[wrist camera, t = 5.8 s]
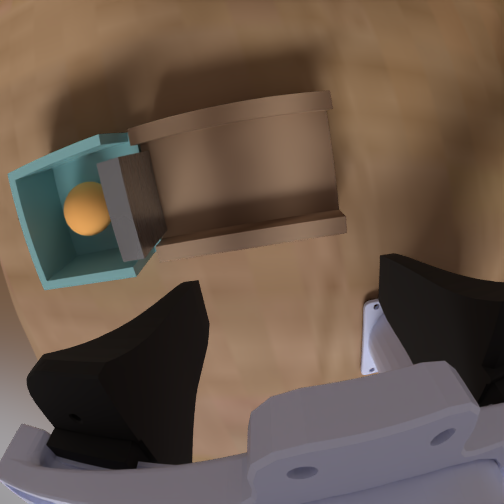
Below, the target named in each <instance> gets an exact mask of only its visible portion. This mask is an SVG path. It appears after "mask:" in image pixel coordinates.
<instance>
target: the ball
mask: <svg viewBox="0 0 504 504" xmlns="http://www.w3.org/2000/svg"><path fill="white" fill-rule="evenodd" d="M64 216H65V220H66V222H67V224H68V225H69V227H70V228H71V229H72V230H73V231H75V232H76V233H78V234H80V235H85V236H92V235H96V234H98V233H100V232H102V231H103V230H104V229H106V228H107V226H108V225H109V224H110V222H111V220H110V216H109V212H108V209H107V205H106V201H105V197H104V194H103V190H102V186H101V184H99V183H96V182H84V183H81V184H78V185H77V186H75V187H74V188H73V189H72V190H71V191H70V192H69V194H68V195H67V197H66V200H65V203H64Z"/></svg>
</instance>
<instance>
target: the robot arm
mask: <svg viewBox="0 0 504 504" xmlns="http://www.w3.org/2000/svg"><path fill="white" fill-rule="evenodd" d="M376 304H378V305H377V306H376V307H374V305H376ZM209 324H210V323H209V320H208V316H207V312H206V308H205V304H204V300H203V296H202V292H201V288H200V284H199V280H197V281H188V282H183V283H181V284H180V285H178V286H177V287H175V288H174V289H173V290H172V291H170V292H169V293H168V294H167V295H165V296H164V297H163V298H162V299H160V300H159V301H158V302H157V303H155V304H154V305H153V306H151V307H150V308H148V309H147V310H146V311H144V312H143V313H142V314H140V315H139V316H137V317H136V318H134V319H133V320H131V321H130V322H128V323H126V324H124V325H123V326H121V327H119V328H117V329H115V330H113V331H111V332H109V333H107V334H105V335H103V336H101V337H99V338H96V339H94V340H91V341H89V342H86V343H83V344H80V345H77V346H74V347H71V348H68V349H64V350H60V351H56V352H52V353H47V354H44V355H43V356H42V357H41V358H40V359H39V361H38V362H37V363H36V365H35V366H34V367H33V369H32V370H31V371H30V373H29V374H28V376H27V387H28V390H29V392H30V395H31V397H32V398H33V400H34V401H35V403H36V404H37V405H38V407H39V408H40V409H41V411H42V412H43V414H44V415H45V416H46V417H47V419H48V420H49V421H50V422H51V424H52V425H53V426H54V427H55V429H54V430H53V432H52V434H49V433H48V432H46V431H45V430H42V429H39V428H36V427H32V426H29V425H26V424H21V425H20V427H19V429H18V431H17V432H16V434H15V436H14V437H13V439H12V441H11V443H10V444H9V446H8V448H7V450H6V452H5V454H4V455H3V457H2V459H1V461H0V482H1V483H3V484H4V485H5V486H6V487H7V488H9V489H10V490H11V491H12V492H14V493H15V494H16V495H18V496H19V497H20V498H21V499H23V500H24V501H25V502H26V503H28V504H504V282H494V281H487V280H480V279H475V278H470V277H466V276H462V275H458V274H454V273H451V272H448V271H445V270H442V269H439V268H436V267H433V266H430V265H428V264H425V263H422V262H420V261H417V260H414V259H411V258H409V257H406V256H403V255H399V254H394V253H393V254H387V255H380V276H379V297H378V299H374V300H369V301H367V302H366V303H365V304H364V307H363V338H362V357H361V373H362V374H363V375H367V374H371V373H375V372H378V373H379V374H374V375H370V376H365V377H361V378H356V379H351V380H346V381H340V382H335V383H329V384H323V385H317V386H311V387H304V388H298V389H295V390H292V391H289V392H285V393H282V394H279V395H275V396H272V397H270V398H269V399H267V400H266V401H265V402H264V403H262V404H261V405H260V406H259V407H257V408H256V409H255V410H254V411H252V412H251V415H250V420H249V425H248V445H247V453H242V454H238V455H233V456H228V457H223V458H218V459H213V460H207V461H201V462H195V463H192V448H193V426H194V412H195V402H196V394H197V388H198V384H199V379H200V375H201V371H202V367H203V363H204V359H205V354H206V350H207V346H208V337H209ZM371 368H372V369H371Z"/></svg>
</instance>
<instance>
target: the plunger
mask: <svg viewBox="0 0 504 504" xmlns="http://www.w3.org/2000/svg"><path fill="white" fill-rule="evenodd" d="M97 169H98V173H99V177H100V181H101V186H102V190H103V194H104V197H105V201H106V205H107V209H108V212H109V216H110V220H111V223H112V227H113V230H114V233H115V237H116V240H117V243H118V246H119V250H120V253H121V256H122V259H123V262H127V261H133V260H139V259H145V257H146V256H147V255H148V254H149V252H150V251H151V250H152V249H153V247H154V246H155V245H156V244H157V243H158V241H159V240H160V239H161V238H162V236H163V235H164V234H165V233H166V232H167V226H166V222H165V218H164V214H163V210H162V206H161V202H160V198H159V194H158V189H157V185H156V181H155V176H154V172H153V167H152V163H151V158H150V153H149V151H144V152H139V153H134V154H130V155H125V156H121V157H117V158H113V159H110V160H107V161H104V162H101V163H98V164H97Z"/></svg>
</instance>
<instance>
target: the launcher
mask: <svg viewBox="0 0 504 504" xmlns="http://www.w3.org/2000/svg"><path fill="white" fill-rule="evenodd" d="M329 109H333V106H332V100H331V95H330V91H317V92H306V93H296V94H287V95H279V96H271V97H264V98H258V99H251V100H245V101H239V102H234V103H228V104H223V105H218V106H213V107H209V108H204V109H199V110H195V111H191V112H186V113H182V114H178V115H174V116H170V117H166V118H163V119H159V120H155V121H152V122H148V123H145V124H142V125H138V126H135V127H132V128H128V129H127V131H128V136H129V141H130V146H134V145H140V147H141V152H144V151H149V153H150V158H151V163H152V167H153V172H154V176H155V181H156V185H157V189H158V194H159V198H160V202H161V206H162V210H163V214H164V218H165V222H166V226H167V232H166V233H165V234H164V235H163V236H162V239H161V241H160V242H159V243H158V244H157V245H156V247H155V248H156V251H157V254H158V258H159V261H160V262H166V261H172V260H179V259H185V258H191V257H197V256H204V255H210V254H216V253H223V252H229V251H235V250H242V249H248V248H254V247H261V246H267V245H273V244H280V243H286V242H292V241H299V240H305V239H312V238H318V237H325V236H331V235H338V234H344V233H347V226H346V216H345V215H344V214H343V213H342V212H341V211H340V210H339V205H338V195H337V185H336V176H335V167H334V159H333V152H332V144H331V137H330V130H329V124H328V117H327V111H326V110H329Z"/></svg>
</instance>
